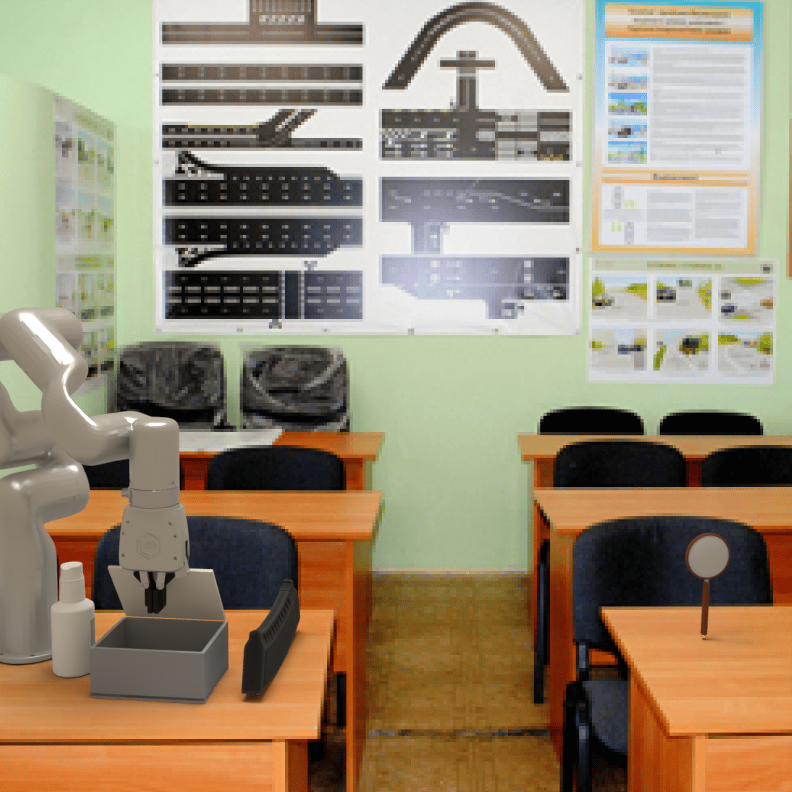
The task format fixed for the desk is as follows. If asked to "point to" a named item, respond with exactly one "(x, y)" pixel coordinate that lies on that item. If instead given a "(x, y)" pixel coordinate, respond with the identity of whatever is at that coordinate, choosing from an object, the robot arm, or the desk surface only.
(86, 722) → the desk surface
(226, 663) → the carton
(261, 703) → the desk surface
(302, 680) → the desk surface
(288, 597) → the magazine
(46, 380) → the robot arm
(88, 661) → the spray bottle
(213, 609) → the carton flap
